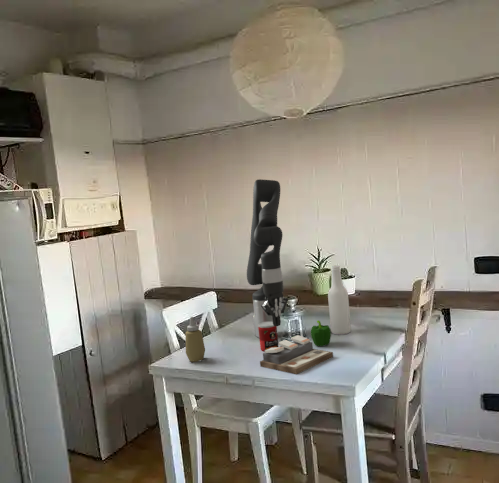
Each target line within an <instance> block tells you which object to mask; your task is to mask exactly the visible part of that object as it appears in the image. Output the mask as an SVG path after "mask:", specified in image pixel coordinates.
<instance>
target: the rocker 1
mask: <svg viewBox="0 0 499 483" xmlns="http://www.w3.org/2000/svg"><path fill="white" fill-rule="evenodd" d="M282 350H284V347H280V346H278V347H274V348H269V349H267V350H265V352H264V353H271V354H273V353H277V352H280V351H282Z"/></svg>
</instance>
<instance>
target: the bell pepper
mask: <svg viewBox="0 0 499 483" xmlns="http://www.w3.org/2000/svg"><path fill="white" fill-rule="evenodd" d="M316 322H317V323H318V325H313V326H312V327H311V329H310V337H311V340H312V343H313V345H314V346H315V347H323V346H328V345H329V344H330V342H331V336H332V332H331V327H330V326H329V325H323V324H322V322H321V321H320V320H316Z"/></svg>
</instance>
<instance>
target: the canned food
mask: <svg viewBox="0 0 499 483" xmlns="http://www.w3.org/2000/svg"><path fill="white" fill-rule="evenodd" d="M258 330H259V345H260V346H259V347H260V350H261V351H262V353H265V350H267V349H269V348H274V347H279V338H278V326H274V325H273V322H262V323H260V324H258Z"/></svg>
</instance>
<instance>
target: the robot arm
mask: <svg viewBox="0 0 499 483" xmlns="http://www.w3.org/2000/svg"><path fill="white" fill-rule="evenodd" d="M252 190H253V192H252V219H251V228H250V245H249V256H248V260H247V261H248V262H247V266H246V267H247V269H246V280H247V282H248V284H249V285H250V286H258V285H261V287H260V288H259V289H258V290H256V291H254V292H253V293H252V295H251V296H252V303H253V314H254V315H253V316H252V322H253V331H254V336H255V337H256V338H259V330H258V324H260V323H262V322H273V325H274V326H277V327H279V326H281V323H282V322H281V314H282V313H283V314H284V312H285V310H286V307H287V304H288V301H289V299H288V297H287V298H286V297H285V296H284V294H283V293H284V291H285V290H284V289H285V288H284V281H283V280H284V279H283V271H282V268H281V257H280V256H281V253H280V252H281V247H282V246H281V245H282V241H283V230H282V229H281V228H280V227H279V226H278V210H279V207H280V199H281V198H280V197H281V184H280V182H279V181H278V180H273V179H260V178H259V179H255V182H254V184H253V189H252ZM261 202H262V203H266V204H265V205H264V206H263V207H262V203H261ZM270 246H273V247H272V248H273V249H271V250H269V251H267V250H268V248H269V247H270Z"/></svg>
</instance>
